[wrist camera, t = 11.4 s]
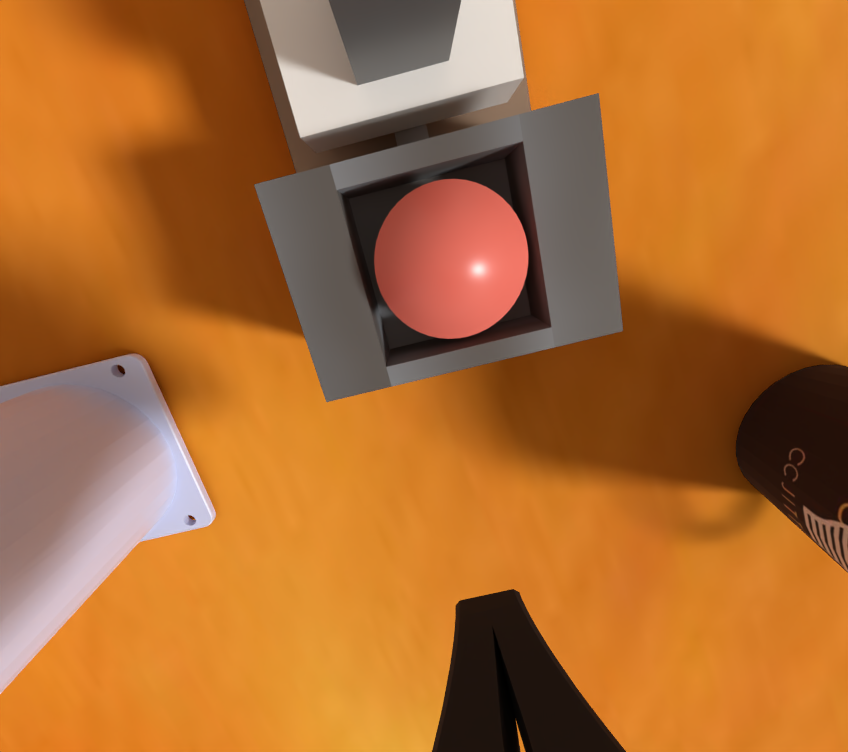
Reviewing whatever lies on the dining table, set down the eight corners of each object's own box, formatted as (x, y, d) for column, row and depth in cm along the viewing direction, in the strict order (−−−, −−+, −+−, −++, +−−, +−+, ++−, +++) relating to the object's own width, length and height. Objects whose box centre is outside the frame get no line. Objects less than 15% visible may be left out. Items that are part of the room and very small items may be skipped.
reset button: (399, 336, 12) (396, 354, 11) (364, 208, 11) (355, 201, 10) (519, 307, 12) (539, 319, 10) (496, 174, 11) (513, 160, 9)
